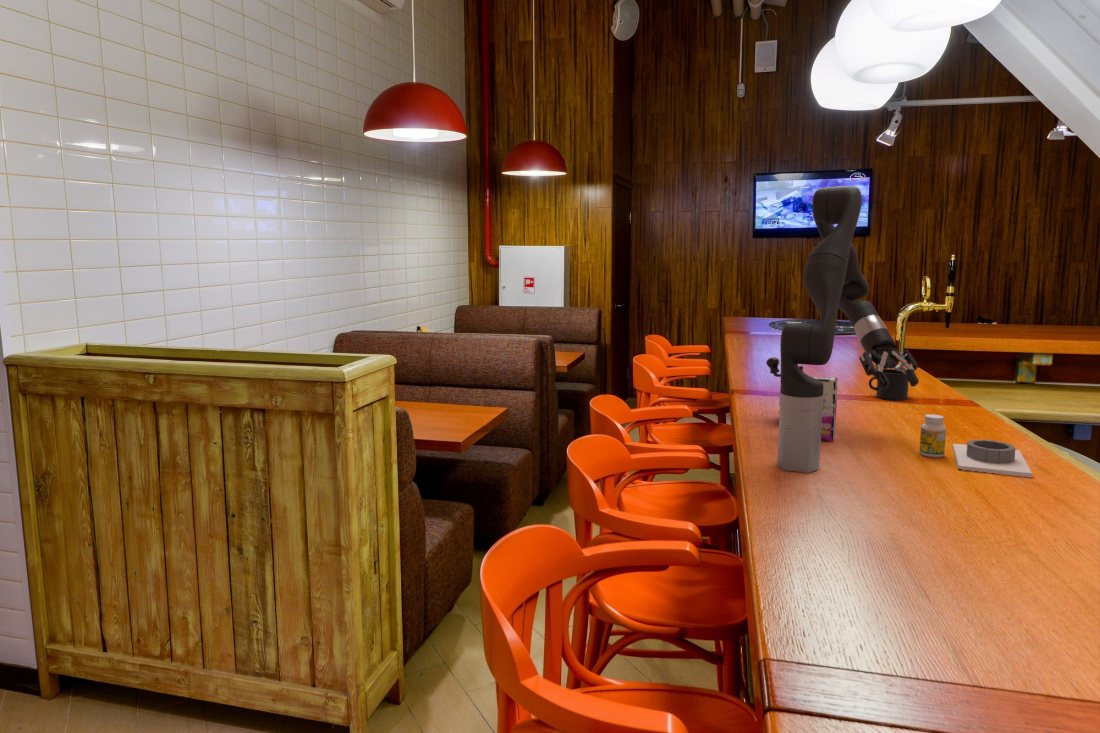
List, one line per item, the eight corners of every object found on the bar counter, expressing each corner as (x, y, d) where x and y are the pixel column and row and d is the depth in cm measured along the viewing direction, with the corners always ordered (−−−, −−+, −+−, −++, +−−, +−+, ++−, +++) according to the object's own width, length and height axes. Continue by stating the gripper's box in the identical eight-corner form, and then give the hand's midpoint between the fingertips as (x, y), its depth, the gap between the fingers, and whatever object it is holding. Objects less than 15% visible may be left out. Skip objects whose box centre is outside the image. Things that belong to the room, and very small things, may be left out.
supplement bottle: (949, 456, 172) (952, 417, 170) (931, 458, 170) (934, 419, 169) (931, 450, 177) (934, 412, 175) (913, 452, 175) (916, 414, 174)
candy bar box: (835, 437, 190) (838, 377, 187) (833, 442, 185) (836, 380, 183) (791, 433, 195) (794, 374, 192) (788, 437, 191) (791, 377, 188)
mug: (866, 394, 245) (868, 367, 244) (905, 396, 241) (907, 369, 239) (868, 399, 236) (870, 372, 235) (909, 401, 232) (911, 374, 231)
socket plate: (1031, 477, 156) (1033, 460, 155) (958, 469, 162) (959, 452, 161) (1018, 453, 173) (1020, 437, 173) (952, 447, 179) (954, 432, 179)
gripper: (857, 328, 187) (885, 379, 178) (904, 326, 190) (933, 375, 181) (843, 345, 193) (869, 395, 184) (889, 343, 196) (916, 392, 187)
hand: (901, 385), depth 182 cm, fingers open, 8 cm apart
